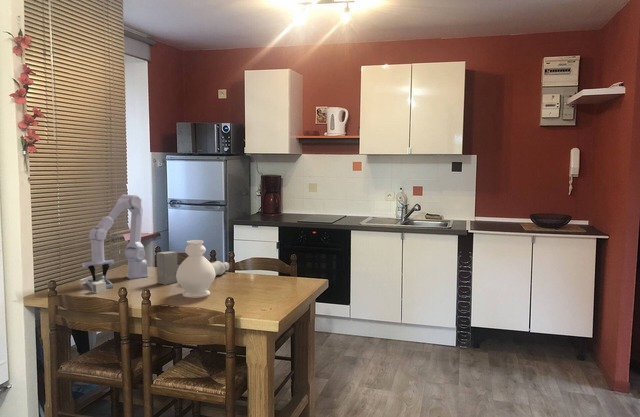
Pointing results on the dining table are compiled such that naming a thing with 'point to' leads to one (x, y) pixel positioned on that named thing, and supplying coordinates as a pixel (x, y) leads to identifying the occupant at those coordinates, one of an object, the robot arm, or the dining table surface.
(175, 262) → the skincare box
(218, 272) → the bottle
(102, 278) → the plug
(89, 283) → the tray
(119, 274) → the dining table surface
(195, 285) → the decorative vase
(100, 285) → the block
